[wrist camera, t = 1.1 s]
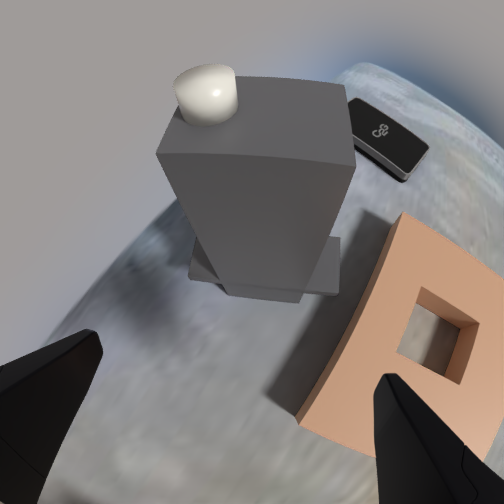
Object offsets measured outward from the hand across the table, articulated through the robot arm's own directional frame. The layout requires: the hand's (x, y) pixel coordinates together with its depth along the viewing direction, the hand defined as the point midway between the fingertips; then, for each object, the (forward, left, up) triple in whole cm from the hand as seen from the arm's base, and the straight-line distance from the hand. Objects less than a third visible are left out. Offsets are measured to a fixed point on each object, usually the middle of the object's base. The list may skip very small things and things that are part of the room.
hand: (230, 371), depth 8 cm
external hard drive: (+6, -26, -14) cm, 30 cm away
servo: (+4, -6, -13) cm, 15 cm away
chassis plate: (-12, -10, -13) cm, 20 cm away
